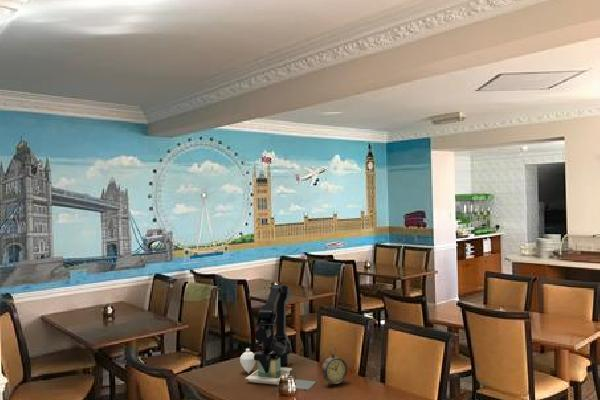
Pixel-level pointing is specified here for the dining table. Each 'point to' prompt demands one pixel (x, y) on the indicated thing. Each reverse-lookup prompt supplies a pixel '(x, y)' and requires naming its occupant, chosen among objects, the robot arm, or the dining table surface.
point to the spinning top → (247, 360)
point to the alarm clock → (334, 369)
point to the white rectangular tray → (255, 378)
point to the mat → (304, 384)
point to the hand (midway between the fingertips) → (269, 371)
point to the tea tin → (271, 369)
